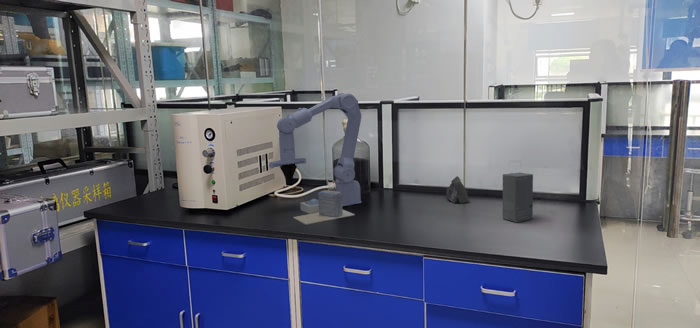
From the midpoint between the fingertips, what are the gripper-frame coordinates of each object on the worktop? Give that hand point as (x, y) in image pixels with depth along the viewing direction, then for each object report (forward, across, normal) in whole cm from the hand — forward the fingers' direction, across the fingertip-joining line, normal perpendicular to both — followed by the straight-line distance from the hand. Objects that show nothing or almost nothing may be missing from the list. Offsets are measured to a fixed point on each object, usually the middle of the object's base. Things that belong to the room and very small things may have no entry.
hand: (289, 183), depth 191 cm
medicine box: (+10, -8, +17) cm, 22 cm away
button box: (+10, -7, +7) cm, 14 cm away
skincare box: (+10, -57, +61) cm, 85 cm away
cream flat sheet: (+10, -6, +17) cm, 21 cm away
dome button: (+10, -7, +7) cm, 14 cm away
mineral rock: (+11, -60, +29) cm, 68 cm away
